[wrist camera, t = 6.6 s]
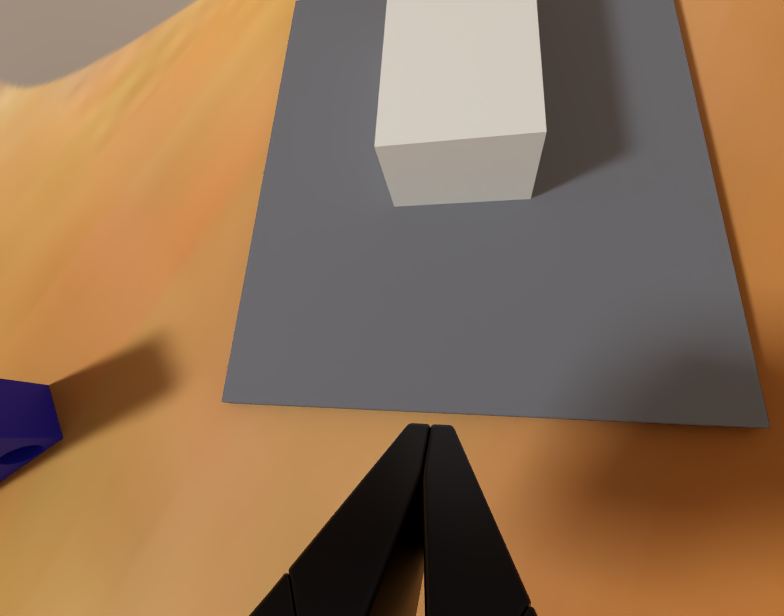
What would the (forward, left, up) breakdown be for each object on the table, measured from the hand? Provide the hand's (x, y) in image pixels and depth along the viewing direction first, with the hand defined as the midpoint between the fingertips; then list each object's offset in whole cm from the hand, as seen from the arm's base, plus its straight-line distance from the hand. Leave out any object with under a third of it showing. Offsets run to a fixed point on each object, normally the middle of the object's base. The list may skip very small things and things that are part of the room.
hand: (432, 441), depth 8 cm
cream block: (+9, -5, -6) cm, 12 cm away
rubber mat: (+11, -7, -8) cm, 15 cm away
